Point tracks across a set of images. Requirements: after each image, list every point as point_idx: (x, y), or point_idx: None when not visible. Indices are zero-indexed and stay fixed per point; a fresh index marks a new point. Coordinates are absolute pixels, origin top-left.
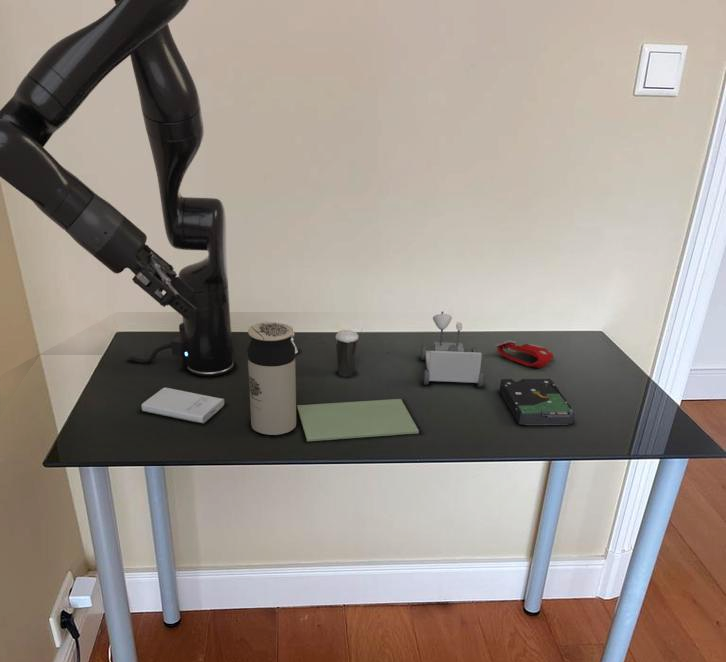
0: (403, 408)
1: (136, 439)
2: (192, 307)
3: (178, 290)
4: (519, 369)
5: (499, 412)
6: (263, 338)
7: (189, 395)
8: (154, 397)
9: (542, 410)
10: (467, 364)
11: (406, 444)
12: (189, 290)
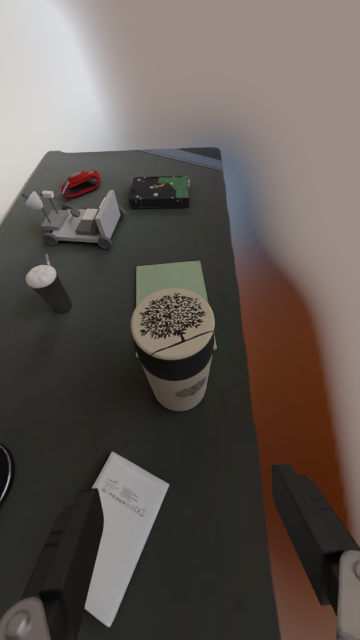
0: (156, 266)
1: (215, 617)
2: (297, 477)
3: (86, 568)
4: (95, 194)
5: (166, 214)
6: (212, 331)
7: None
8: None
9: (184, 188)
10: (113, 207)
11: (219, 272)
12: (90, 509)
